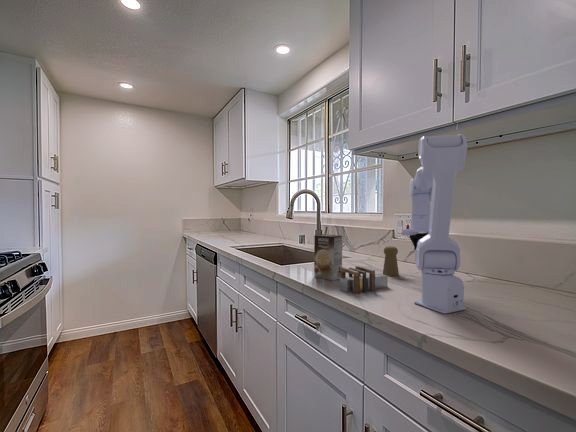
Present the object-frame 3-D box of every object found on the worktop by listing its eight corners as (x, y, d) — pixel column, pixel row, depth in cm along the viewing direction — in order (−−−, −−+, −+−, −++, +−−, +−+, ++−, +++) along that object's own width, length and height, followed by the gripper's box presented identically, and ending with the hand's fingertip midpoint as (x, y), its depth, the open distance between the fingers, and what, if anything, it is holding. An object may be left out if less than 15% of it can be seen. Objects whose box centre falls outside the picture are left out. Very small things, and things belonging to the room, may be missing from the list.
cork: (396, 276, 110) (396, 248, 110) (380, 274, 114) (380, 246, 114) (400, 274, 115) (400, 246, 115) (385, 272, 119) (385, 245, 118)
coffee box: (313, 277, 111) (313, 235, 110) (322, 274, 115) (322, 233, 115) (333, 280, 105) (333, 236, 104) (343, 277, 109) (342, 235, 109)
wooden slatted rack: (375, 291, 91) (375, 270, 91) (356, 293, 88) (356, 272, 88) (358, 284, 99) (358, 265, 99) (340, 287, 96) (340, 267, 96)
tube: (379, 284, 99) (379, 273, 99) (387, 287, 96) (387, 275, 96) (340, 289, 93) (340, 277, 93) (347, 292, 89) (347, 280, 89)
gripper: (426, 215, 102) (426, 253, 103) (394, 215, 97) (394, 256, 97) (444, 215, 96) (444, 256, 96) (411, 215, 90) (411, 259, 90)
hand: (420, 256), depth 96 cm, fingers closed
